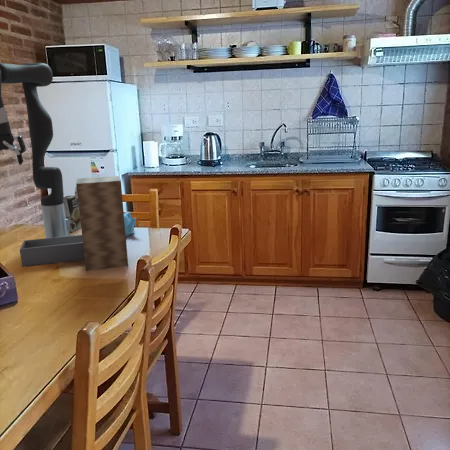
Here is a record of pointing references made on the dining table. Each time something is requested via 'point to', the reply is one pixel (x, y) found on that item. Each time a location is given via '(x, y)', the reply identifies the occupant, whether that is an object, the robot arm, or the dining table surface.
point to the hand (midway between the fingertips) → (8, 165)
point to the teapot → (129, 223)
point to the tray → (52, 250)
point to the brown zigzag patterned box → (102, 222)
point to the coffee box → (72, 212)
